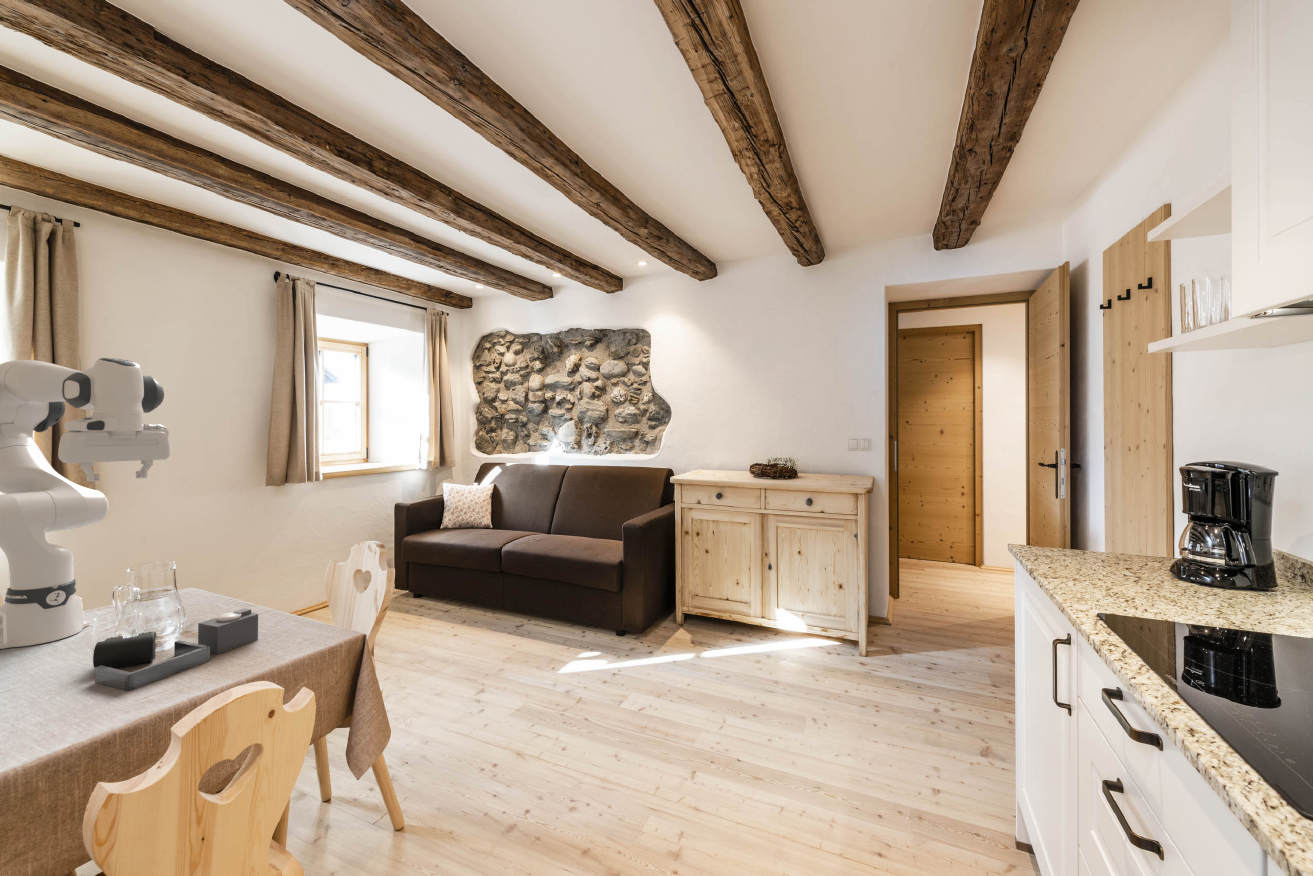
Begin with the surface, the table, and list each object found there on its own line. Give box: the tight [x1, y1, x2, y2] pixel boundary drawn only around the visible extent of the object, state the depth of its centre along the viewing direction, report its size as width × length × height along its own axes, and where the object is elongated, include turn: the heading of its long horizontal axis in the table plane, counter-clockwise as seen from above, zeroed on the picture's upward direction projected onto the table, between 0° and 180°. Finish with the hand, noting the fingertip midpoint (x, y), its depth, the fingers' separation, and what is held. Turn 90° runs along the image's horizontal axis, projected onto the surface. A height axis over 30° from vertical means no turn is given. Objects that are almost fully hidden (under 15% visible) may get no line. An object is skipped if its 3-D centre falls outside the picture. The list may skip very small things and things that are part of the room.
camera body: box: [197, 607, 259, 655], centre depth 138 cm, size 7×10×8 cm
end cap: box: [92, 631, 158, 669], centre depth 125 cm, size 10×7×7 cm
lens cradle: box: [94, 639, 211, 692], centre depth 122 cm, size 11×16×4 cm
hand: (118, 479), depth 130 cm, fingers open, 8 cm apart
